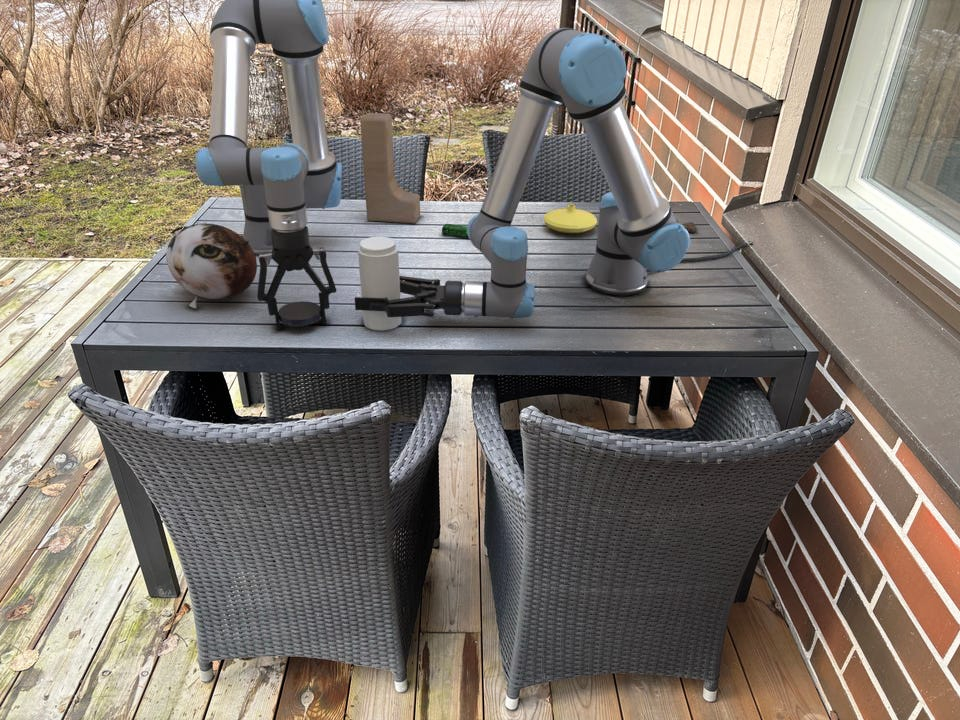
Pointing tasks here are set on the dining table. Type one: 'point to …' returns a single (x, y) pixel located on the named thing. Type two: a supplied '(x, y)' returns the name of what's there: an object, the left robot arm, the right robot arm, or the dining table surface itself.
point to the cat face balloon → (211, 261)
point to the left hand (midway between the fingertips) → (301, 324)
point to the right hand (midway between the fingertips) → (359, 294)
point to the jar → (379, 278)
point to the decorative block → (384, 174)
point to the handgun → (455, 230)
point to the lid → (299, 313)
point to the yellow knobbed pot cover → (570, 220)
